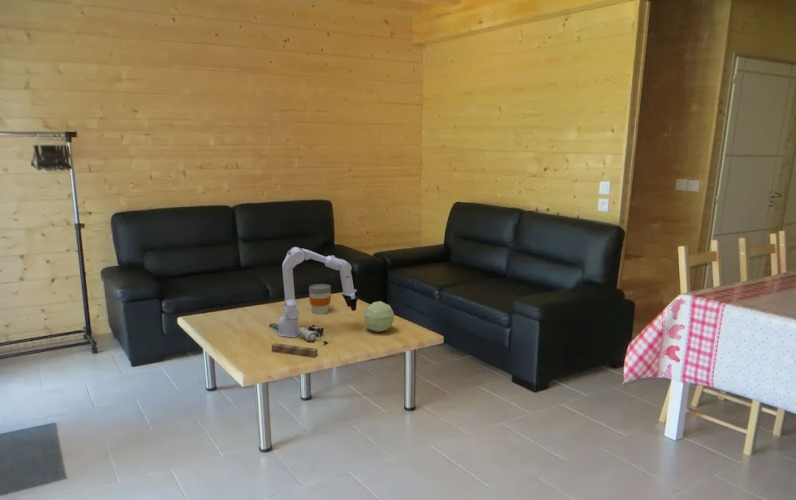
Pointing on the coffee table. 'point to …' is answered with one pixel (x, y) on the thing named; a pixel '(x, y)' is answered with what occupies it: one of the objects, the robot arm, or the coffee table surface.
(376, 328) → the decorative sphere
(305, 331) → the clip-on lamp
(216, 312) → the coffee table surface
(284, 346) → the bar
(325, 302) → the reusable coffee cup
